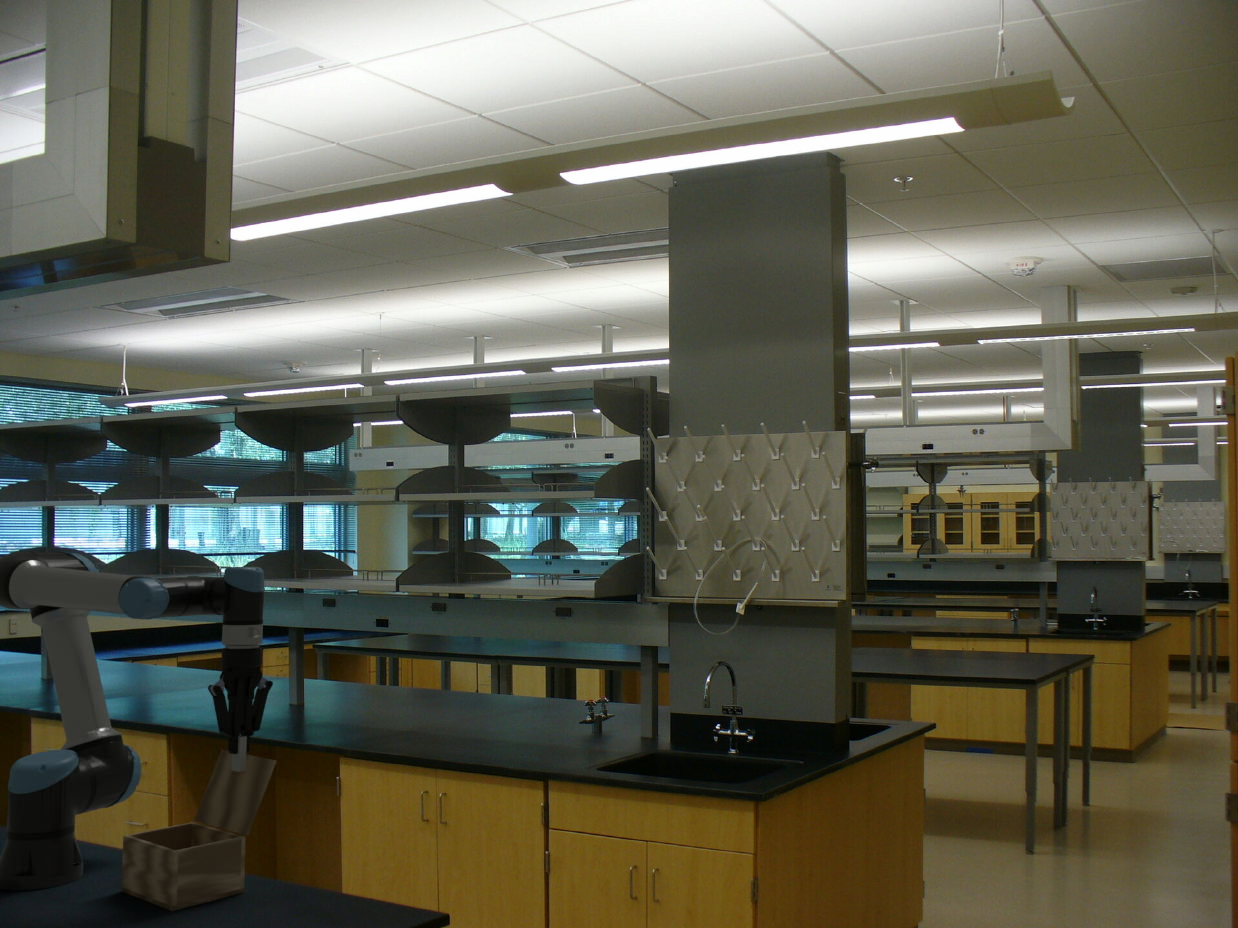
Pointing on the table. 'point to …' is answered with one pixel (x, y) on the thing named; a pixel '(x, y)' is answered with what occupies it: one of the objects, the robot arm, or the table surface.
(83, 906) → the table surface
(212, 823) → the lid
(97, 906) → the table surface
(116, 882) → the table surface
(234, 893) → the brown wooden box
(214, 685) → the robot arm
